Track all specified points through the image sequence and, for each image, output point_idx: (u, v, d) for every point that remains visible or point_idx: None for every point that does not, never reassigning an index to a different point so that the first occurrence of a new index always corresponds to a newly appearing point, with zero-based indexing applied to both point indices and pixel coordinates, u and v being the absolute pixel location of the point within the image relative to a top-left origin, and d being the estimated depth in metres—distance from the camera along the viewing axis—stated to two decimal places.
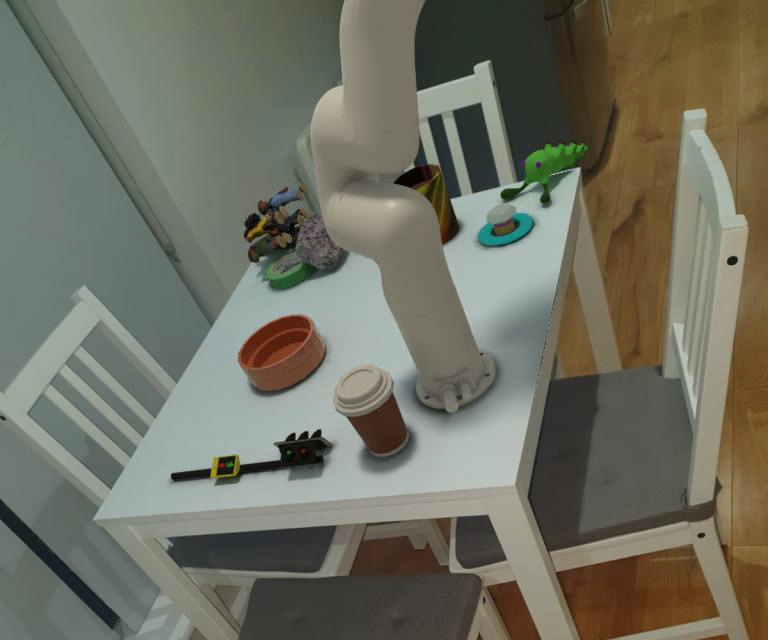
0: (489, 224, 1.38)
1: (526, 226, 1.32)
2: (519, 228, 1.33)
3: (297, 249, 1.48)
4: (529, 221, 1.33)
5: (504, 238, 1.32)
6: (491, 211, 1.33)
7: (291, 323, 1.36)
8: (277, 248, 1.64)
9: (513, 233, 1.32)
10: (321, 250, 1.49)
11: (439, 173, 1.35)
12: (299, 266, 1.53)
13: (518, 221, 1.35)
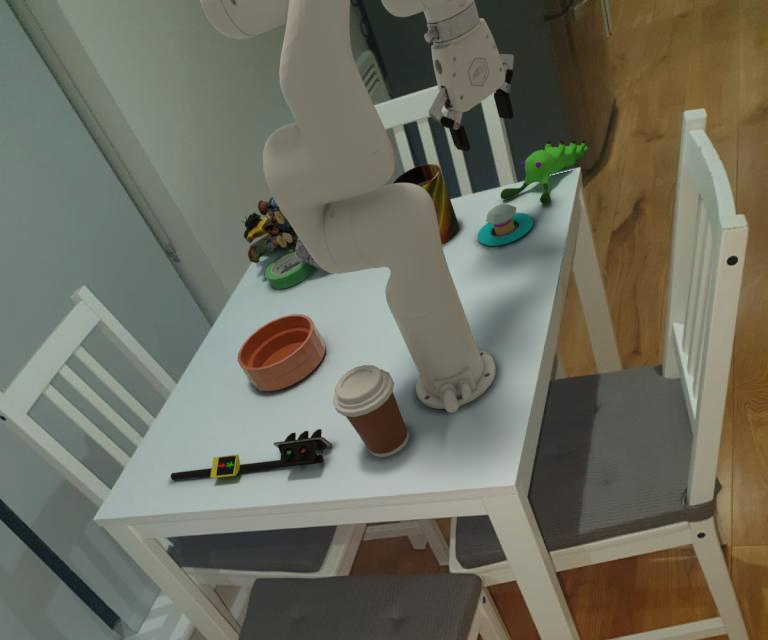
0: (489, 224, 1.38)
1: (526, 226, 1.32)
2: (519, 228, 1.33)
3: (297, 249, 1.48)
4: (529, 221, 1.33)
5: (504, 238, 1.32)
6: (491, 211, 1.33)
7: (291, 323, 1.36)
8: (277, 248, 1.64)
9: (513, 233, 1.32)
10: None
11: (439, 173, 1.35)
12: (299, 266, 1.53)
13: (518, 221, 1.35)
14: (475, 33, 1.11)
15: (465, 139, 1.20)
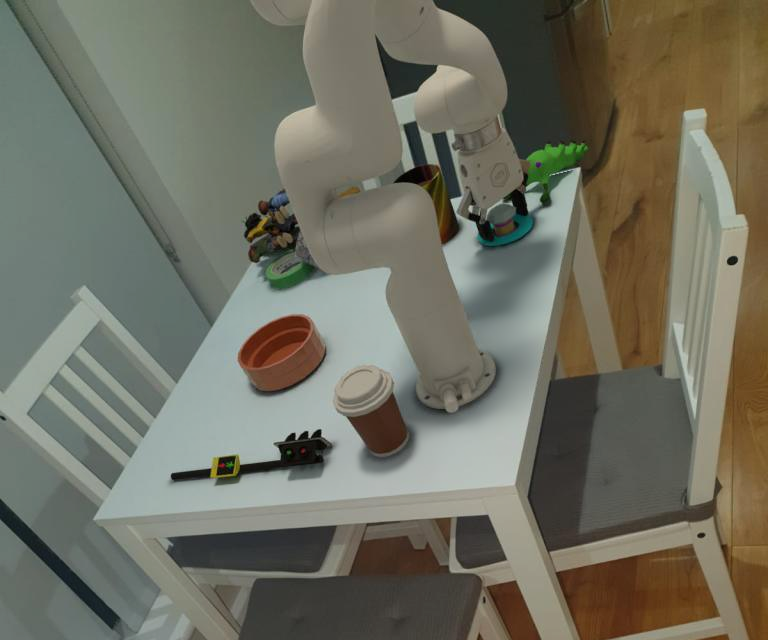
0: None
1: (526, 226, 1.32)
2: (519, 228, 1.33)
3: (297, 249, 1.48)
4: (529, 221, 1.33)
5: (504, 238, 1.32)
6: (491, 211, 1.33)
7: (291, 323, 1.36)
8: (277, 248, 1.64)
9: (513, 233, 1.32)
10: None
11: (439, 173, 1.35)
12: (299, 266, 1.53)
13: (518, 221, 1.35)
14: (497, 142, 1.23)
15: (490, 232, 1.32)
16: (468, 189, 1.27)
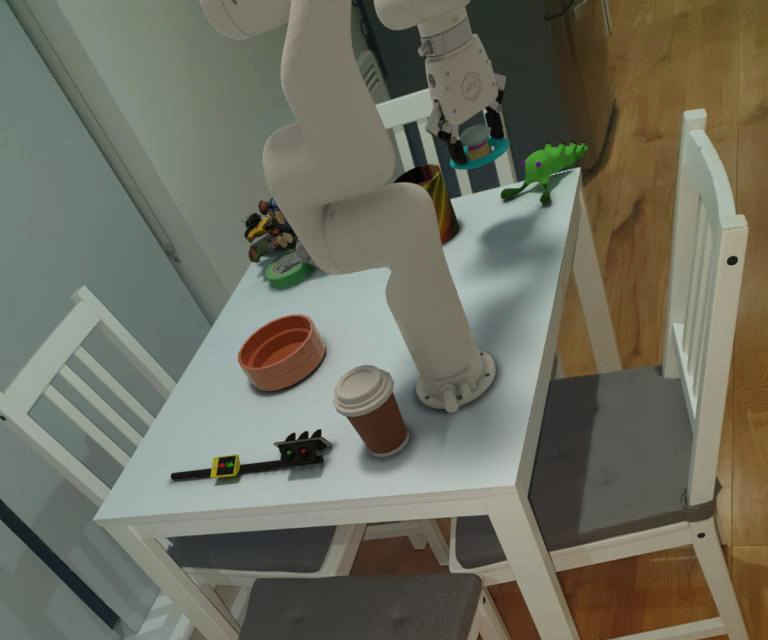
0: None
1: (501, 148, 1.22)
2: (494, 150, 1.22)
3: (297, 249, 1.48)
4: (505, 143, 1.23)
5: (478, 160, 1.22)
6: (464, 132, 1.23)
7: (291, 323, 1.36)
8: (277, 248, 1.64)
9: (487, 155, 1.22)
10: None
11: (439, 173, 1.35)
12: (299, 266, 1.53)
13: (494, 144, 1.24)
14: (468, 48, 1.12)
15: (462, 153, 1.21)
16: (437, 102, 1.16)
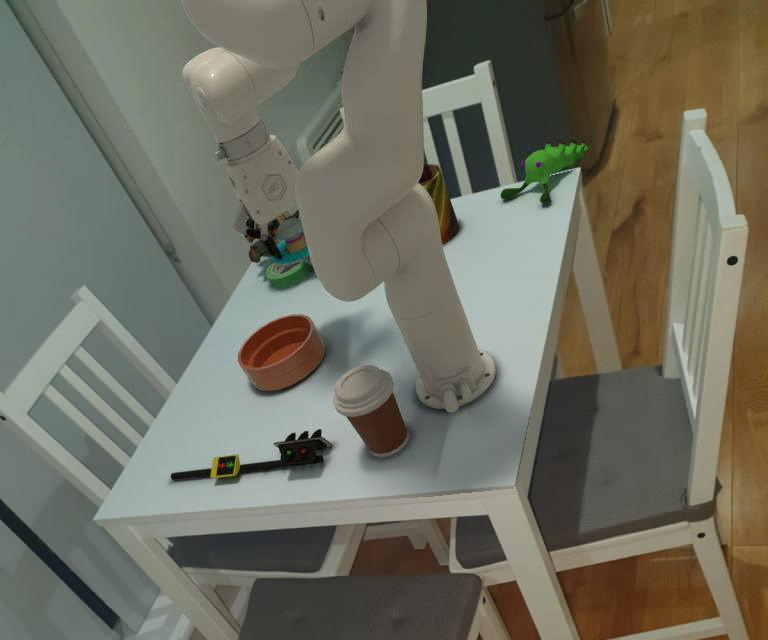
0: None
1: None
2: None
3: None
4: None
5: (292, 256, 1.21)
6: (280, 226, 1.22)
7: (291, 323, 1.36)
8: None
9: (301, 250, 1.21)
10: None
11: (439, 173, 1.35)
12: (299, 266, 1.53)
13: None
14: (265, 151, 1.11)
15: (275, 249, 1.20)
16: (242, 202, 1.15)
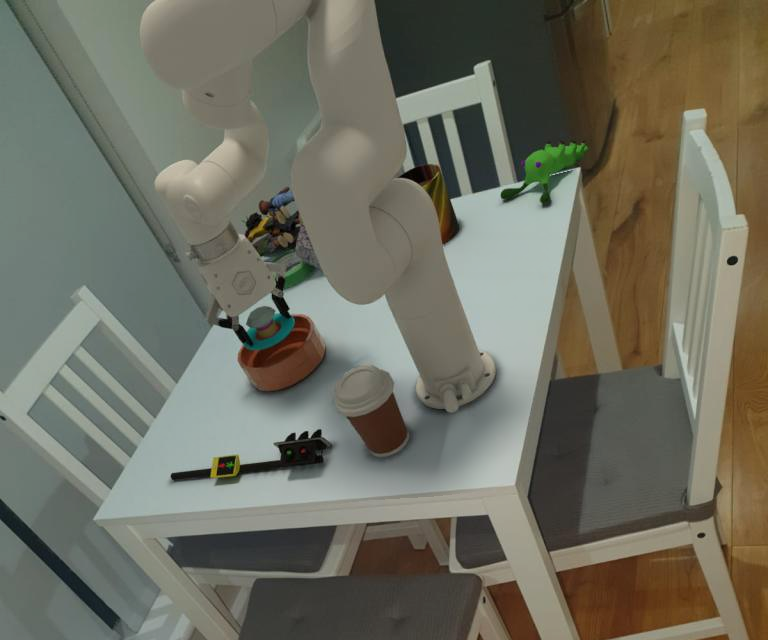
0: None
1: (285, 331, 1.27)
2: (278, 333, 1.27)
3: (297, 249, 1.48)
4: (289, 325, 1.27)
5: (262, 343, 1.27)
6: (250, 314, 1.28)
7: None
8: (277, 248, 1.64)
9: (271, 338, 1.27)
10: None
11: (439, 173, 1.35)
12: (299, 266, 1.53)
13: (281, 323, 1.29)
14: (235, 251, 1.17)
15: (246, 337, 1.26)
16: (213, 296, 1.21)
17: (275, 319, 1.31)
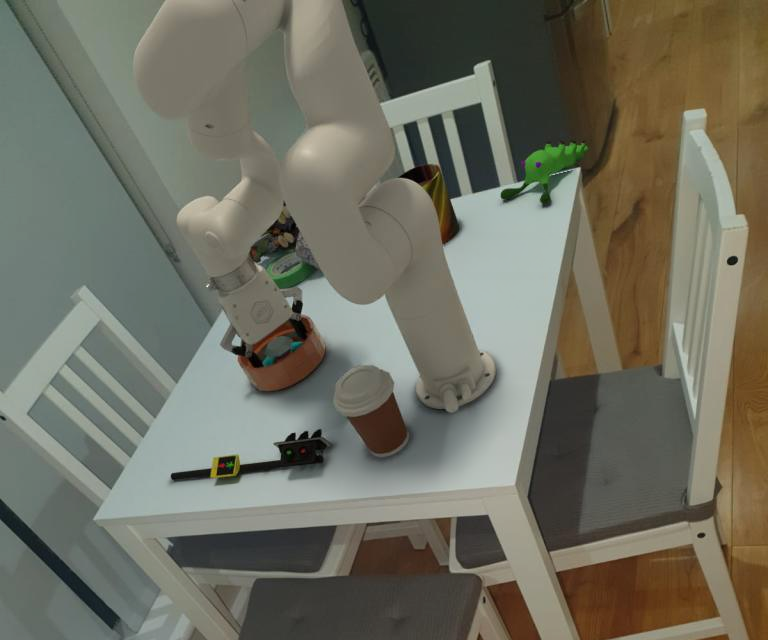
0: None
1: None
2: None
3: (297, 249, 1.48)
4: None
5: None
6: (269, 344, 1.32)
7: None
8: (277, 248, 1.64)
9: None
10: None
11: (439, 173, 1.35)
12: (299, 266, 1.53)
13: None
14: (253, 282, 1.21)
15: (259, 364, 1.30)
16: None
17: (292, 348, 1.35)
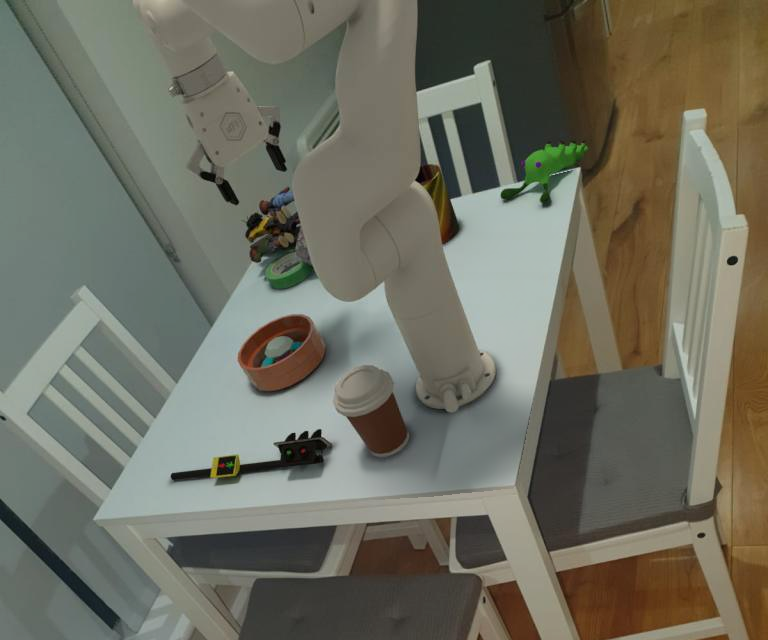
0: None
1: None
2: None
3: (297, 249, 1.48)
4: None
5: None
6: (269, 344, 1.32)
7: (291, 323, 1.36)
8: (277, 248, 1.64)
9: None
10: None
11: (439, 173, 1.35)
12: (299, 266, 1.53)
13: None
14: (223, 87, 1.06)
15: (231, 193, 1.15)
16: None
17: (292, 348, 1.35)
